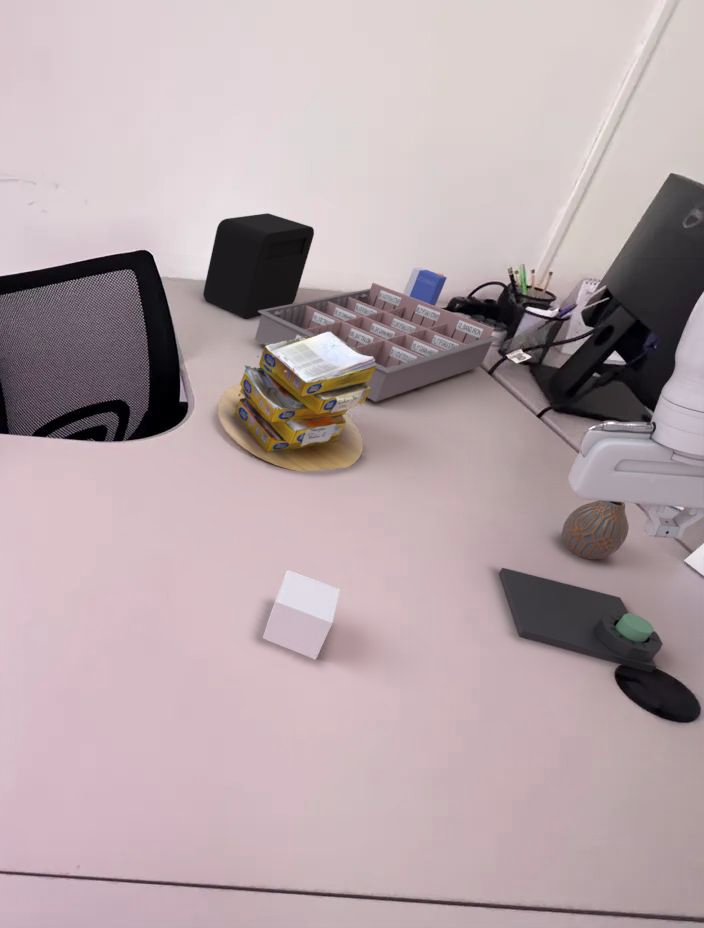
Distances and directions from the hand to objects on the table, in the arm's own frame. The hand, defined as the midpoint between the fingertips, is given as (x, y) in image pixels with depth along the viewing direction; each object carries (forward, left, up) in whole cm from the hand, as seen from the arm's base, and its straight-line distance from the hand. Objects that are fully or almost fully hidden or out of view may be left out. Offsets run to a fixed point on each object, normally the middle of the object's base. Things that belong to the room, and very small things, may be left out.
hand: (661, 535), depth 78 cm
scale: (+4, +3, -13) cm, 14 cm away
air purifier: (+53, -92, -13) cm, 107 cm away
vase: (-2, -14, -13) cm, 19 cm away
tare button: (0, +6, -10) cm, 12 cm away
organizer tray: (+25, -71, -13) cm, 77 cm away
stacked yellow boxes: (+40, -29, -13) cm, 51 cm away
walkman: (+12, -106, -13) cm, 108 cm away
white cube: (+37, +19, -13) cm, 44 cm away
